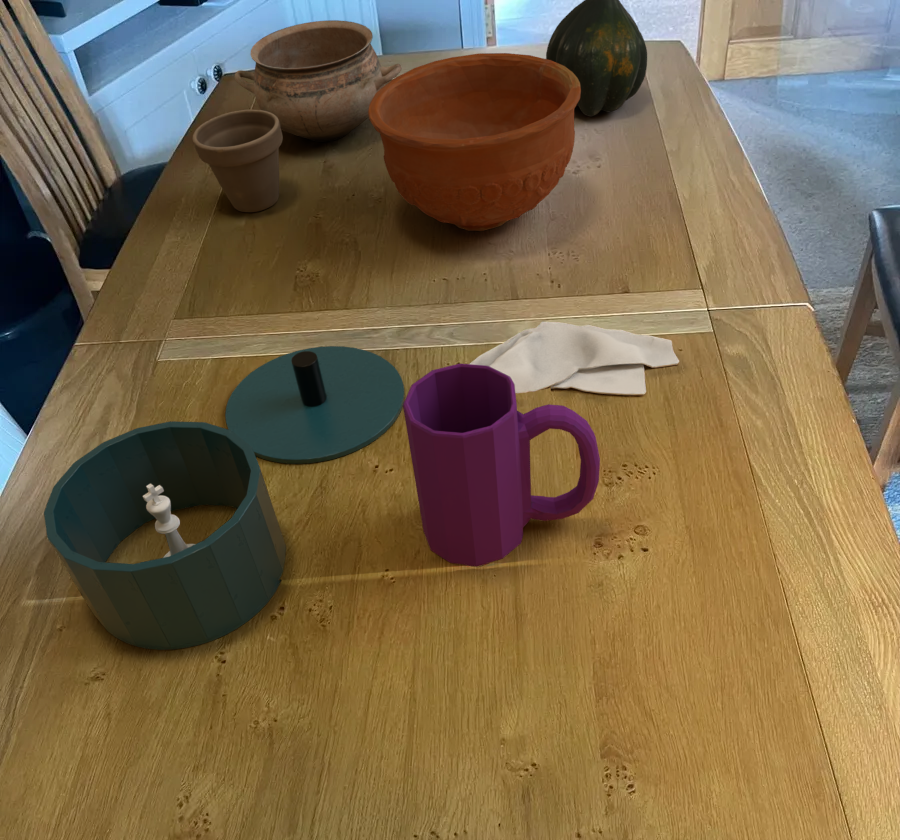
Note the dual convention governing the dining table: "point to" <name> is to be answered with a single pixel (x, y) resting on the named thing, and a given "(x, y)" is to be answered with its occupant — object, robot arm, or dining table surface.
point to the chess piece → (164, 519)
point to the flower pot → (243, 156)
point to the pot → (187, 572)
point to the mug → (485, 462)
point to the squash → (600, 53)
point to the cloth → (579, 358)
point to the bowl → (477, 135)
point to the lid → (315, 404)
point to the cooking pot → (317, 77)
